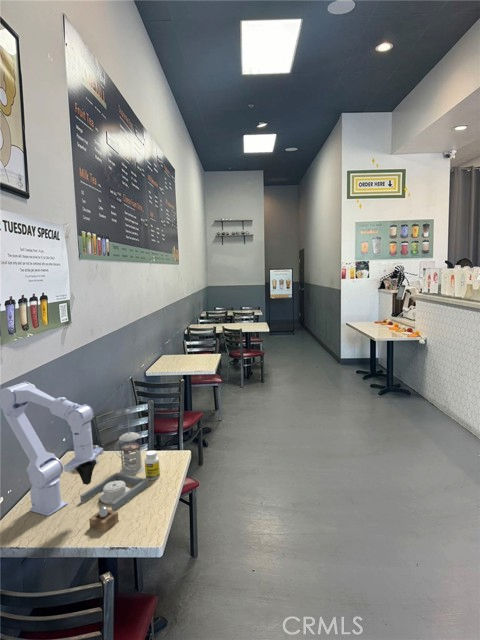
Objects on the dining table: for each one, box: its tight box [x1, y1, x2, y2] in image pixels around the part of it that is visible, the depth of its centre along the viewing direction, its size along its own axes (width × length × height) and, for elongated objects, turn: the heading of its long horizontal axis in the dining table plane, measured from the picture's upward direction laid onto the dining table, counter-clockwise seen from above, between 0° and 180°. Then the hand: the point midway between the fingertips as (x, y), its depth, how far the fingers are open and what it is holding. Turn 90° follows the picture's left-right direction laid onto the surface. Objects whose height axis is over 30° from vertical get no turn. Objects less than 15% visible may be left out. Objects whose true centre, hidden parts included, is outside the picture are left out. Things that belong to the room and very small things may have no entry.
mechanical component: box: [99, 480, 130, 505], centre depth 140 cm, size 10×4×10 cm
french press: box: [114, 409, 145, 476], centre depth 160 cm, size 10×12×25 cm
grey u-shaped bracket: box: [79, 472, 149, 511], centre depth 142 cm, size 15×17×2 cm
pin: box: [98, 505, 108, 520], centre depth 123 cm, size 2×2×6 cm
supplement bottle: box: [144, 450, 161, 481], centre depth 153 cm, size 5×5×10 cm
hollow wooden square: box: [88, 508, 119, 533], centre depth 124 cm, size 6×6×3 cm
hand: (86, 483), depth 130 cm, fingers closed
